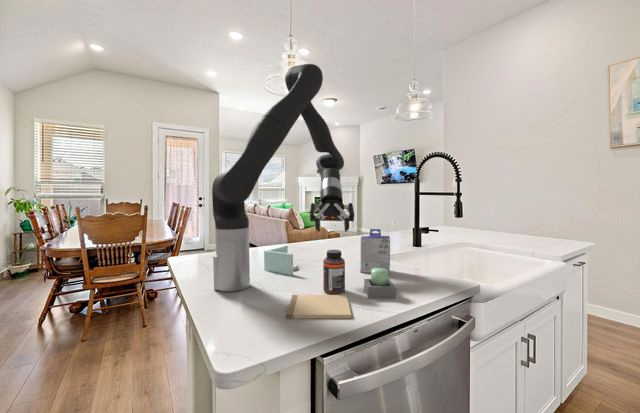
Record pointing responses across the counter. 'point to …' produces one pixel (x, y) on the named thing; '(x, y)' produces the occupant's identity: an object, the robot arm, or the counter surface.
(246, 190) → the robot arm
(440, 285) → the counter surface
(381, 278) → the button
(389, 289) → the button housing
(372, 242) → the ink cartridge box
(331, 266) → the supplement bottle
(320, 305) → the sketchbook
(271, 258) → the l-shaped corner panel
